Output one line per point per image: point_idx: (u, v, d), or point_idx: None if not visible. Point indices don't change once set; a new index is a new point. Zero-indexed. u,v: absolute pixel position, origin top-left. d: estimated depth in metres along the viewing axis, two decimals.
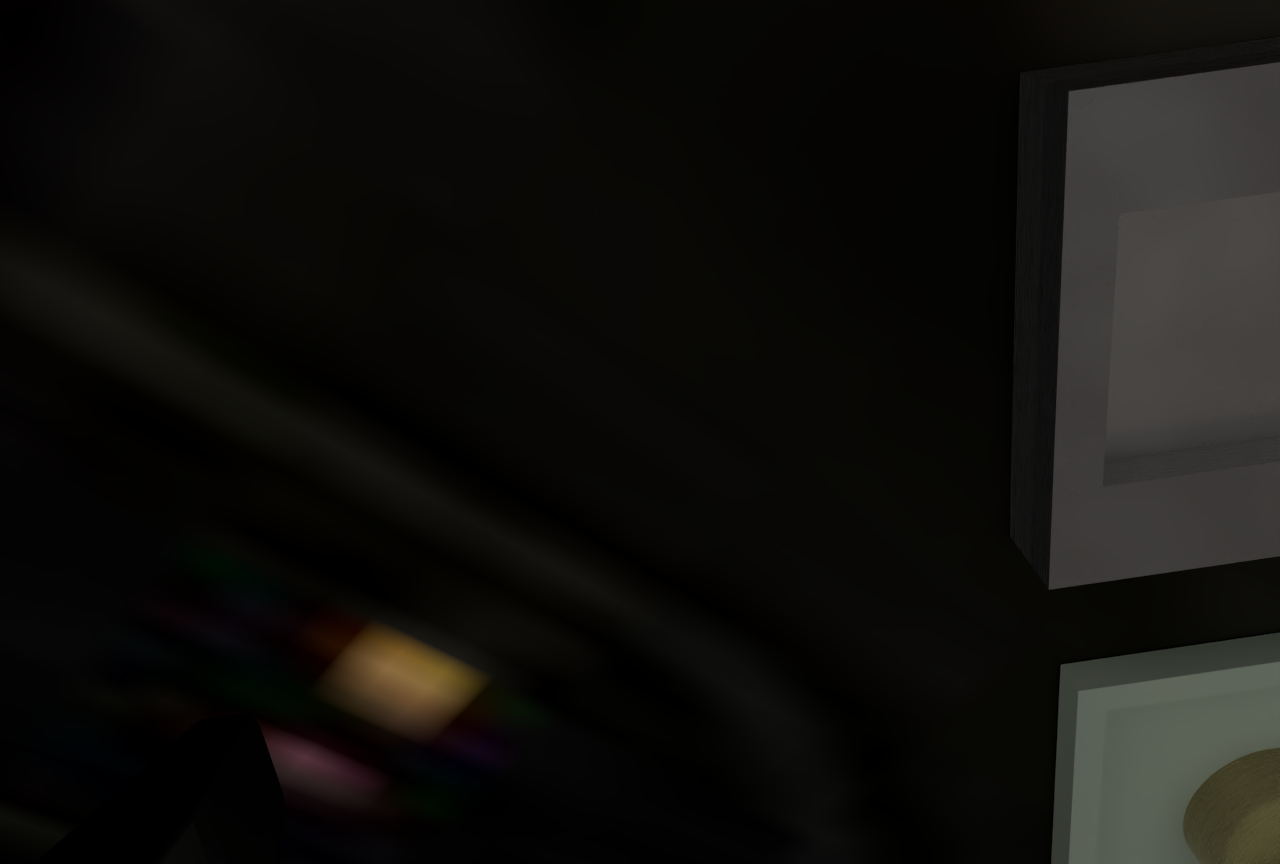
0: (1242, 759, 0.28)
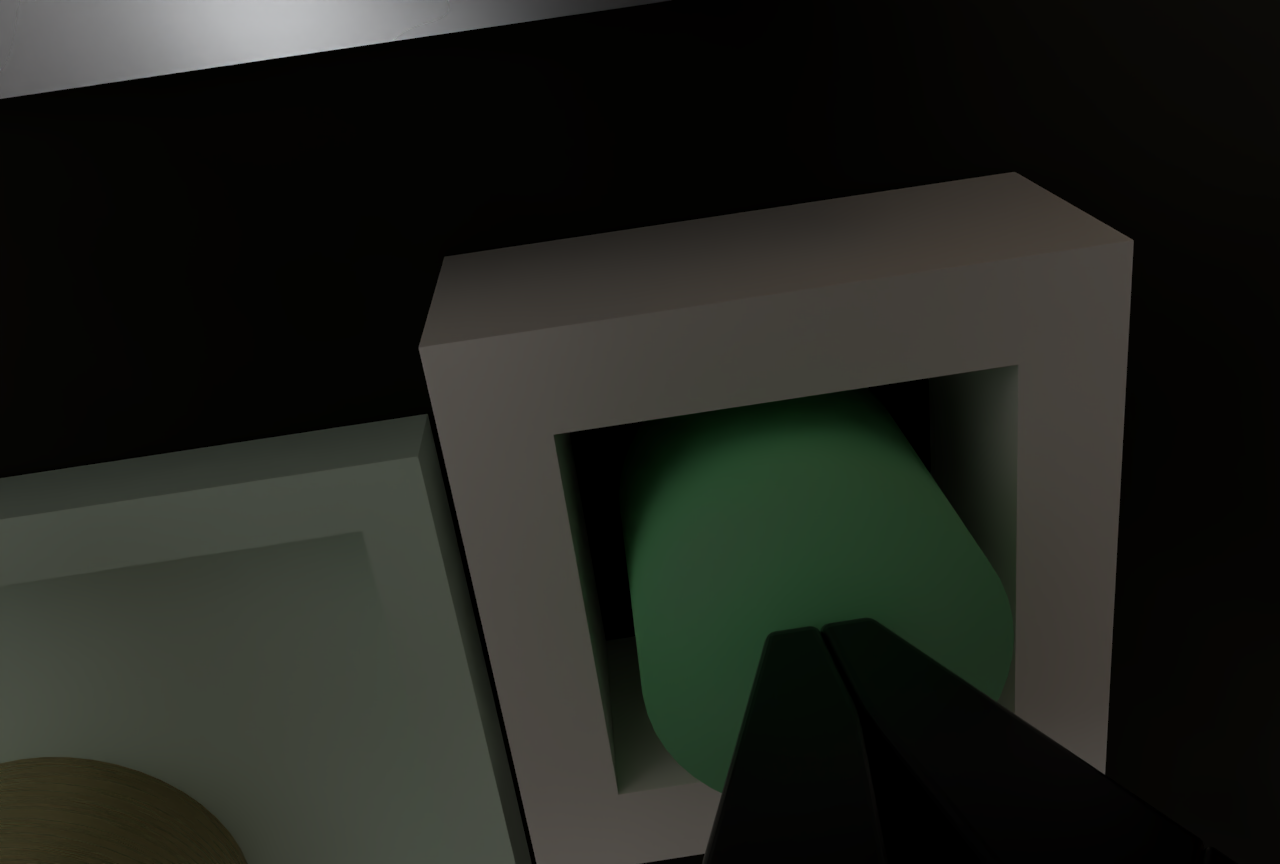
0: None
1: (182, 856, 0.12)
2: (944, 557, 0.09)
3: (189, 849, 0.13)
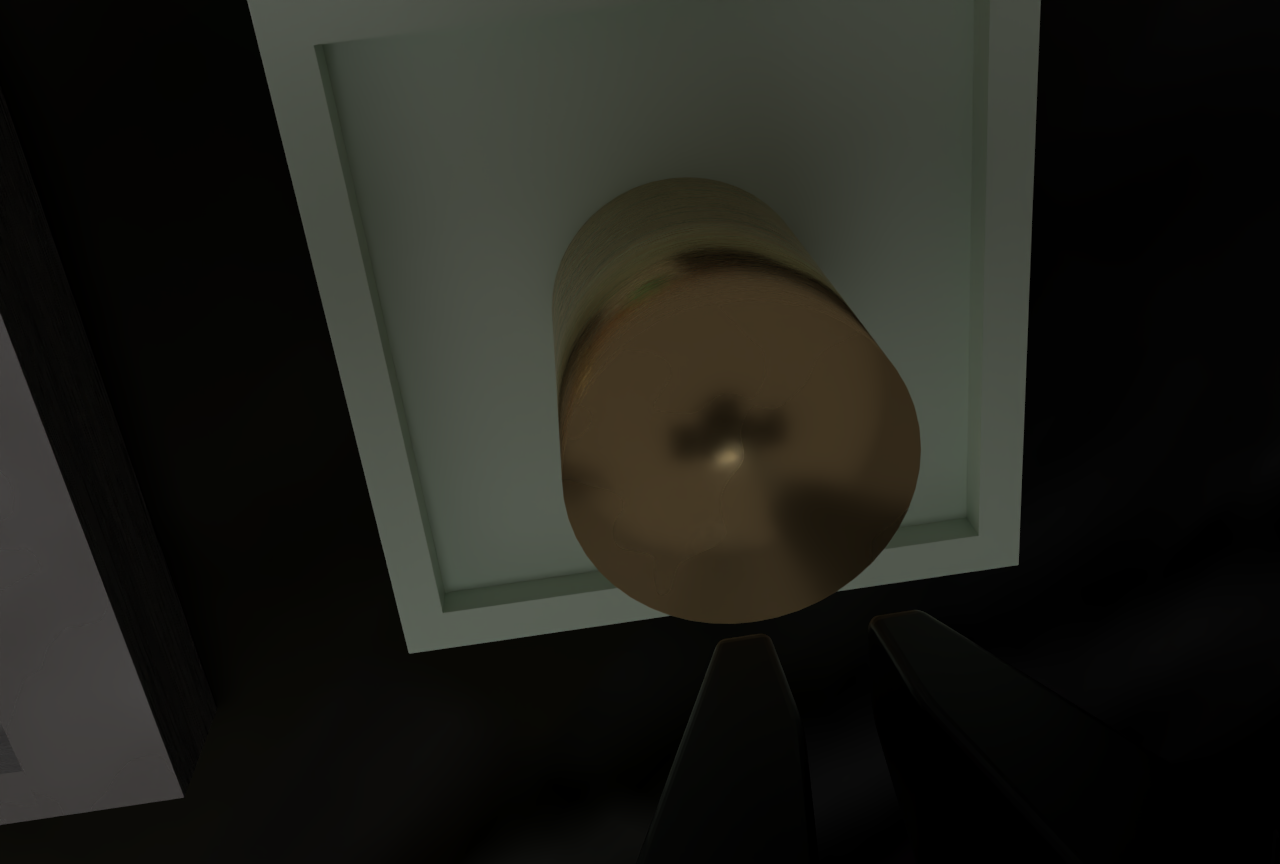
0: None
1: (607, 218, 0.16)
2: None
3: (609, 214, 0.16)
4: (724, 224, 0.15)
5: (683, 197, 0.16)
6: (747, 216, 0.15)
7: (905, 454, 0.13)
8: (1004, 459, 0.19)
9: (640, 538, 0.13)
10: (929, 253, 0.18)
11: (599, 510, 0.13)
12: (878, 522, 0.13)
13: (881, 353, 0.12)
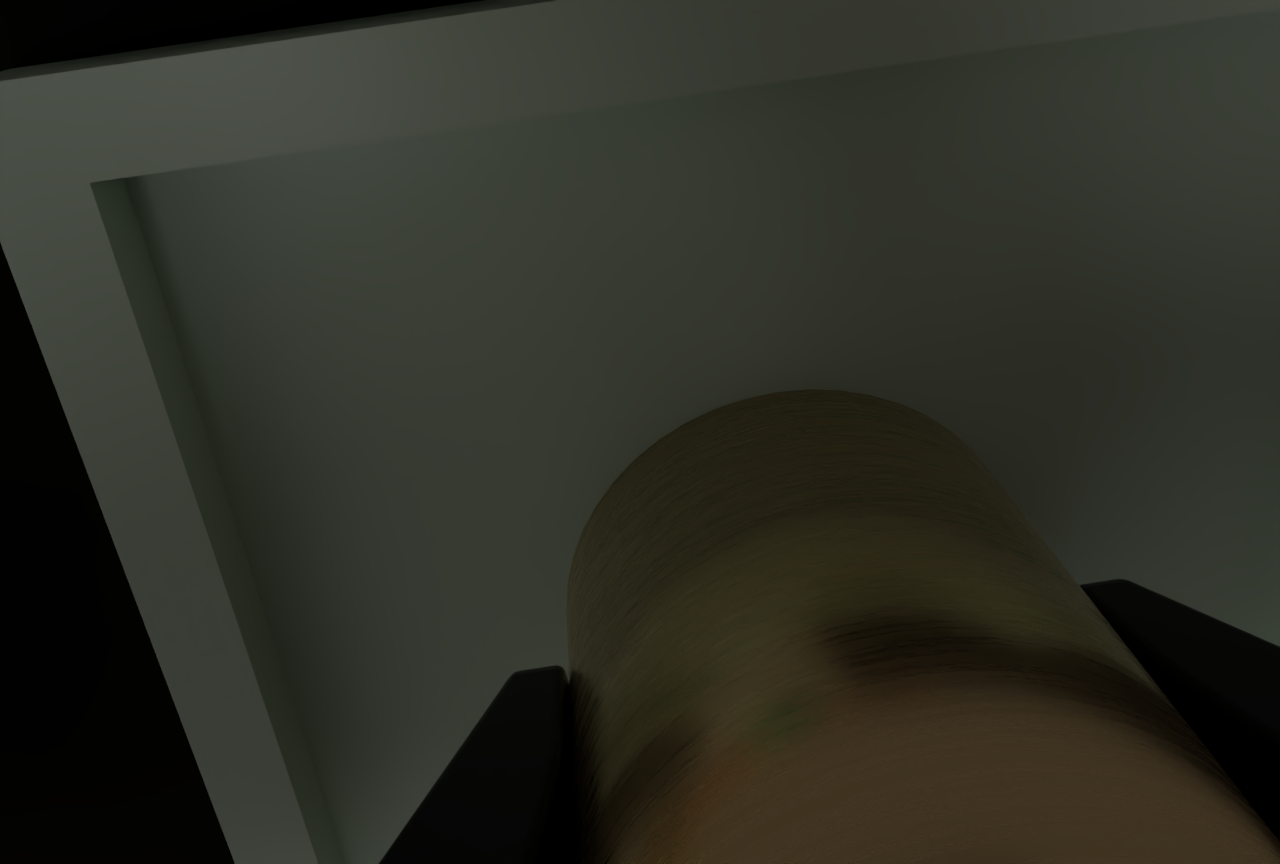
0: None
1: (669, 482, 0.09)
2: None
3: (672, 471, 0.09)
4: (921, 550, 0.07)
5: (815, 453, 0.08)
6: (951, 506, 0.08)
7: None
8: None
9: None
10: (1229, 502, 0.10)
11: None
12: None
13: None
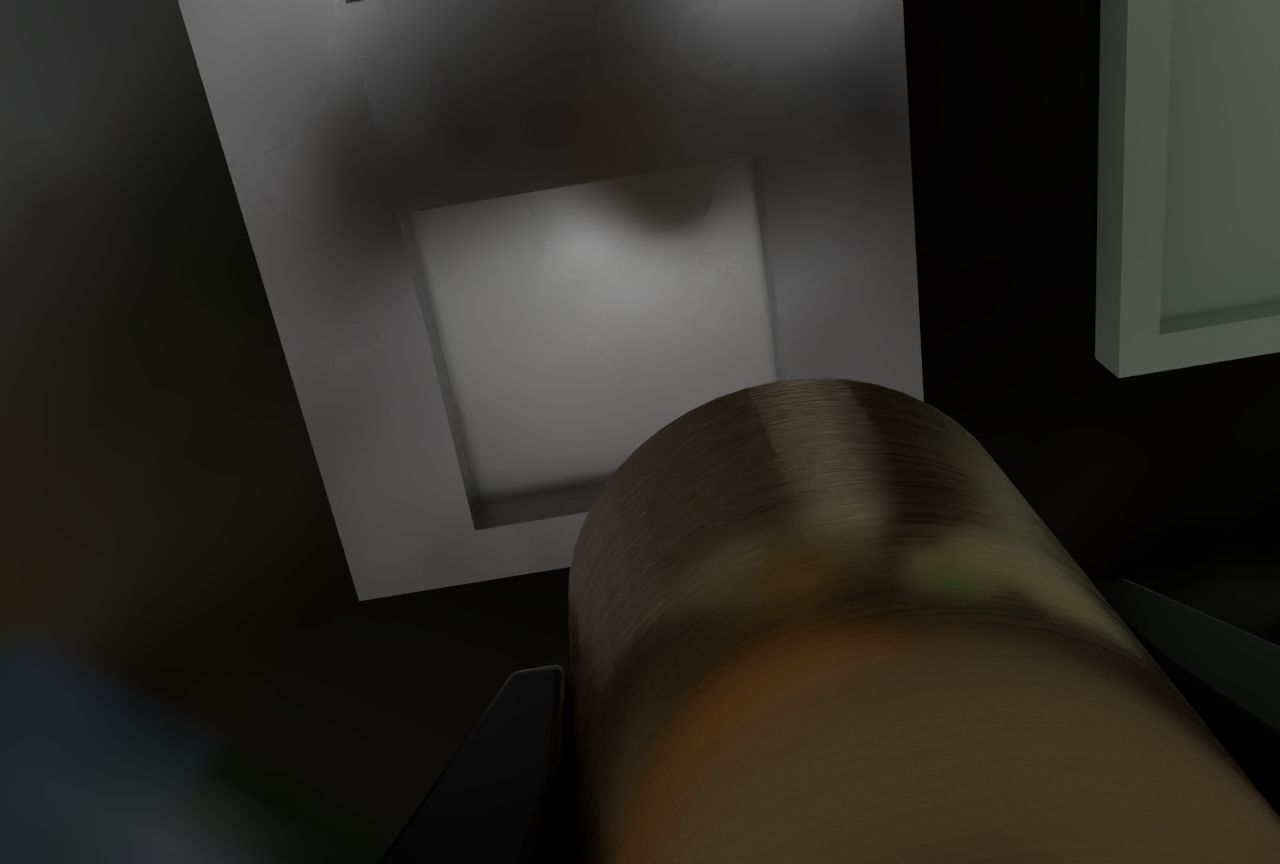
0: None
1: (672, 470, 0.09)
2: None
3: (674, 460, 0.09)
4: (925, 535, 0.07)
5: (819, 440, 0.08)
6: (955, 493, 0.08)
7: None
8: None
9: None
10: None
11: None
12: None
13: None
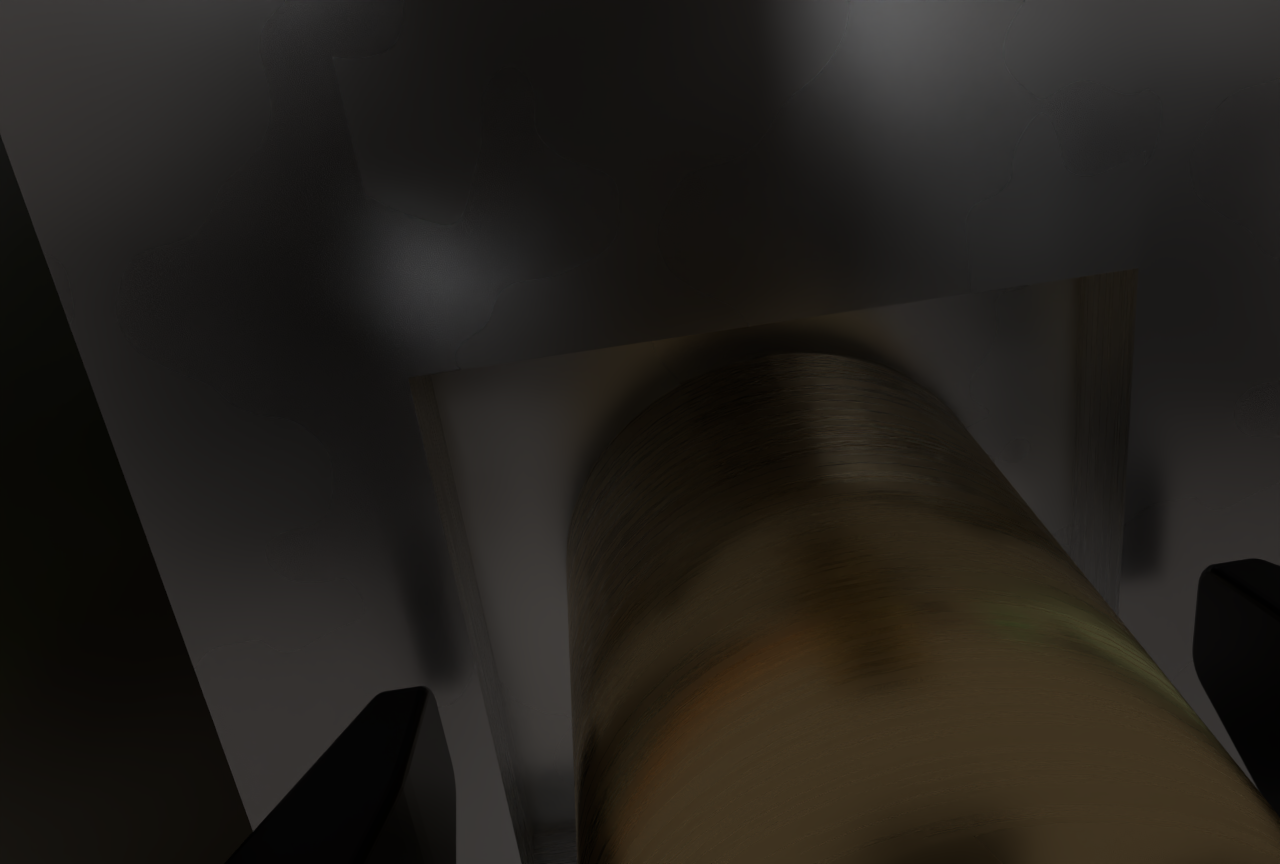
0: None
1: (663, 439, 0.09)
2: None
3: (666, 429, 0.09)
4: (898, 491, 0.07)
5: (801, 408, 0.09)
6: (928, 455, 0.08)
7: None
8: None
9: None
10: None
11: None
12: None
13: None
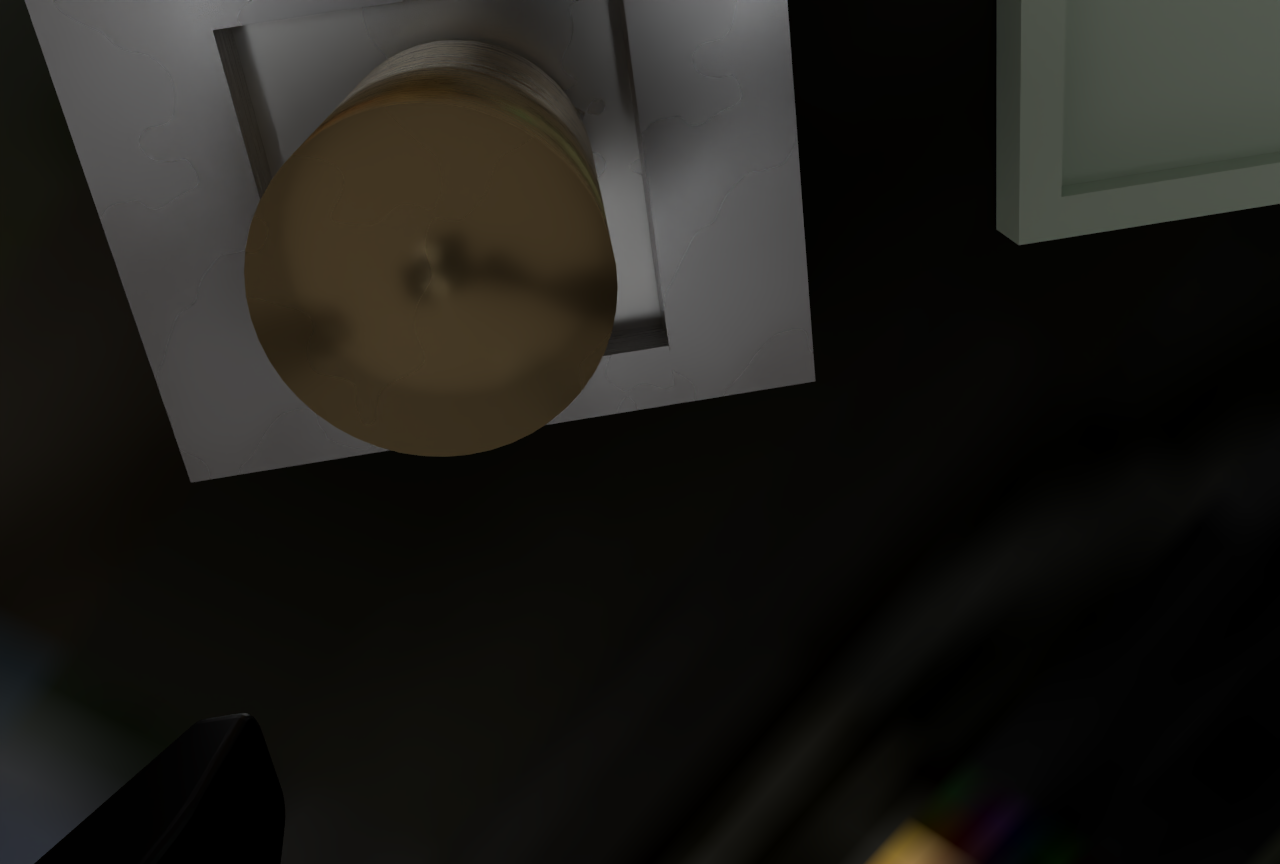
0: None
1: (366, 76, 0.16)
2: None
3: (369, 73, 0.16)
4: (454, 64, 0.14)
5: (435, 50, 0.16)
6: (490, 63, 0.15)
7: (600, 271, 0.13)
8: None
9: (336, 362, 0.13)
10: None
11: (289, 331, 0.13)
12: (582, 346, 0.13)
13: (560, 160, 0.12)
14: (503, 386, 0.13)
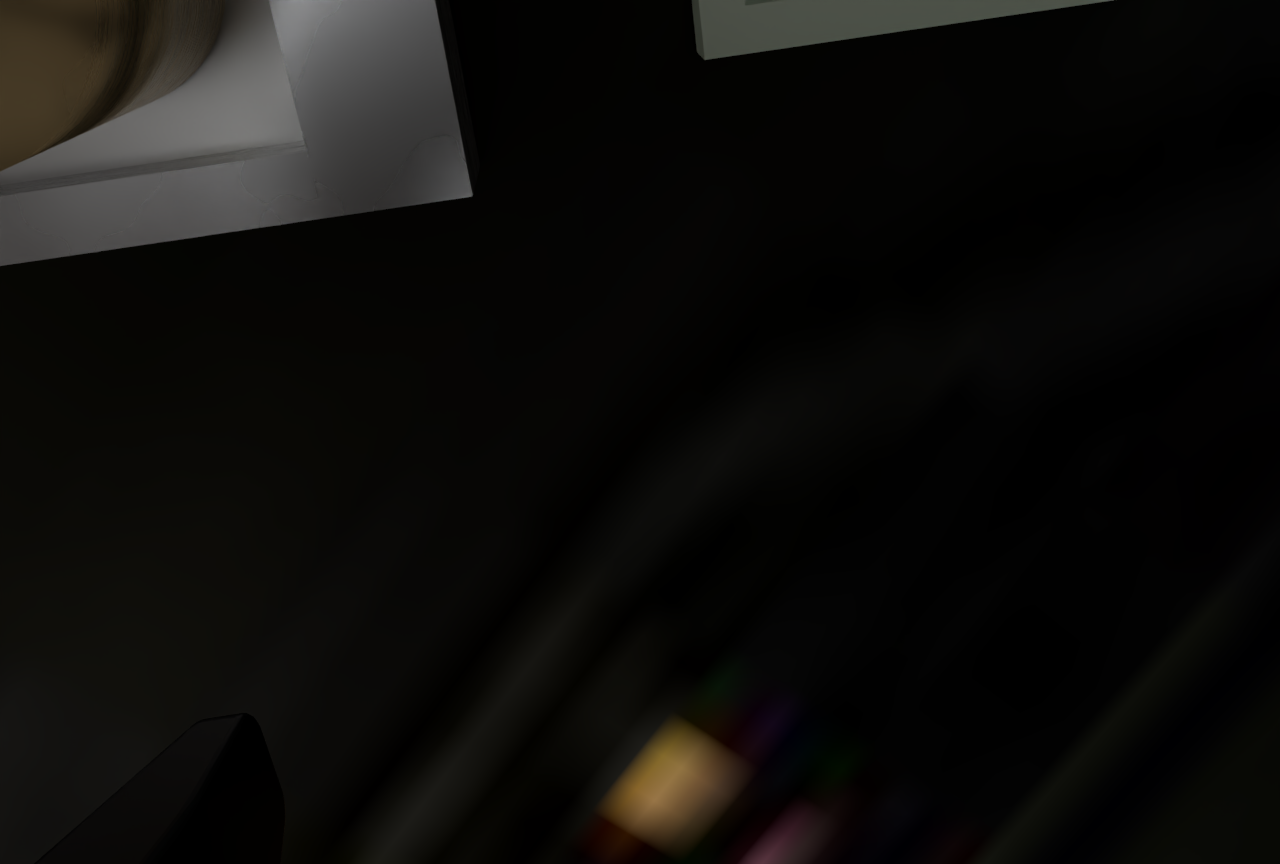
0: None
1: None
2: None
3: None
4: None
5: None
6: None
7: None
8: None
9: None
10: None
11: None
12: (63, 59, 0.12)
13: None
14: None
